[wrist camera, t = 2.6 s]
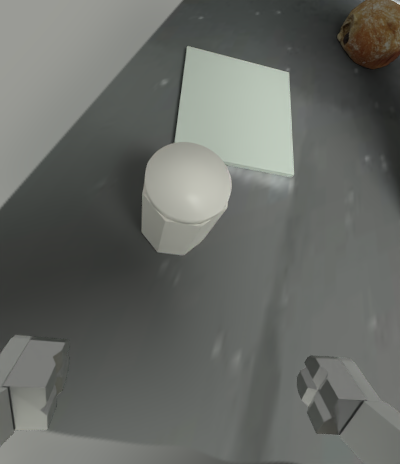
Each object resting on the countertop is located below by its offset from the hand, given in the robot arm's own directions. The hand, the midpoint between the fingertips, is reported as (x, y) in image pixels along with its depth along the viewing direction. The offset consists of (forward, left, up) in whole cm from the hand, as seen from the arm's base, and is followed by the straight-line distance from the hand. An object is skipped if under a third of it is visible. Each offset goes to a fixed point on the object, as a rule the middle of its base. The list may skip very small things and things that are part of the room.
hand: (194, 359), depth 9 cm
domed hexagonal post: (0, -11, -15) cm, 18 cm away
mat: (-6, -27, -15) cm, 31 cm away
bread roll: (-27, -46, -16) cm, 55 cm away
